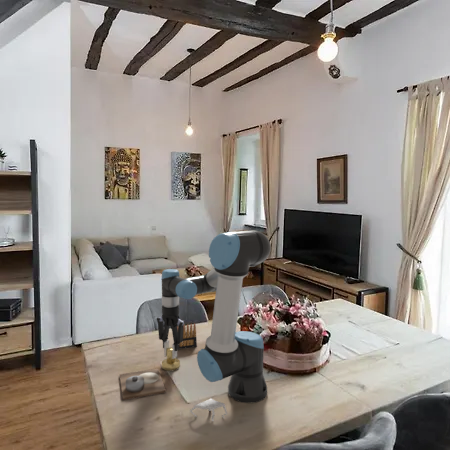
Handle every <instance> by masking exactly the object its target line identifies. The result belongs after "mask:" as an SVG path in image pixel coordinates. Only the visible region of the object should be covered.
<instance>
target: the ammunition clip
mask: <svg viewBox="0 0 450 450" xmlns="http://www.w3.org/2000/svg"><path fill="white" fill-rule="evenodd" d="M178 326H179V325H178ZM178 326H177V330H178ZM197 346H198V342H197V325H196V323H195V322H194V323H190V326H189V324H188V323H187V325H186V323H185V324H184V327H183V341H182V342H181V343H180V344H179V350H183V349H191V348H196V347H197Z"/></svg>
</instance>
